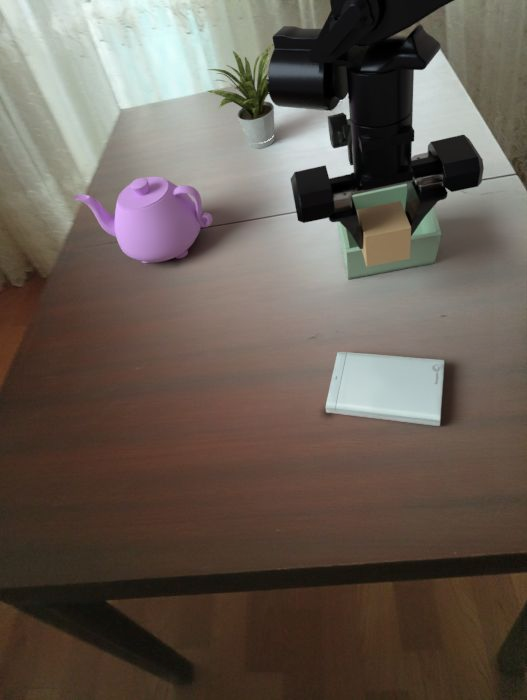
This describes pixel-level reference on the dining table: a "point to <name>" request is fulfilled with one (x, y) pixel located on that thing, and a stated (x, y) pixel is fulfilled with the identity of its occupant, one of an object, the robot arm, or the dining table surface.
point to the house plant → (251, 101)
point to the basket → (421, 240)
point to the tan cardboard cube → (385, 233)
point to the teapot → (153, 219)
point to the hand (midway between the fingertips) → (383, 242)
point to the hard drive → (387, 388)
